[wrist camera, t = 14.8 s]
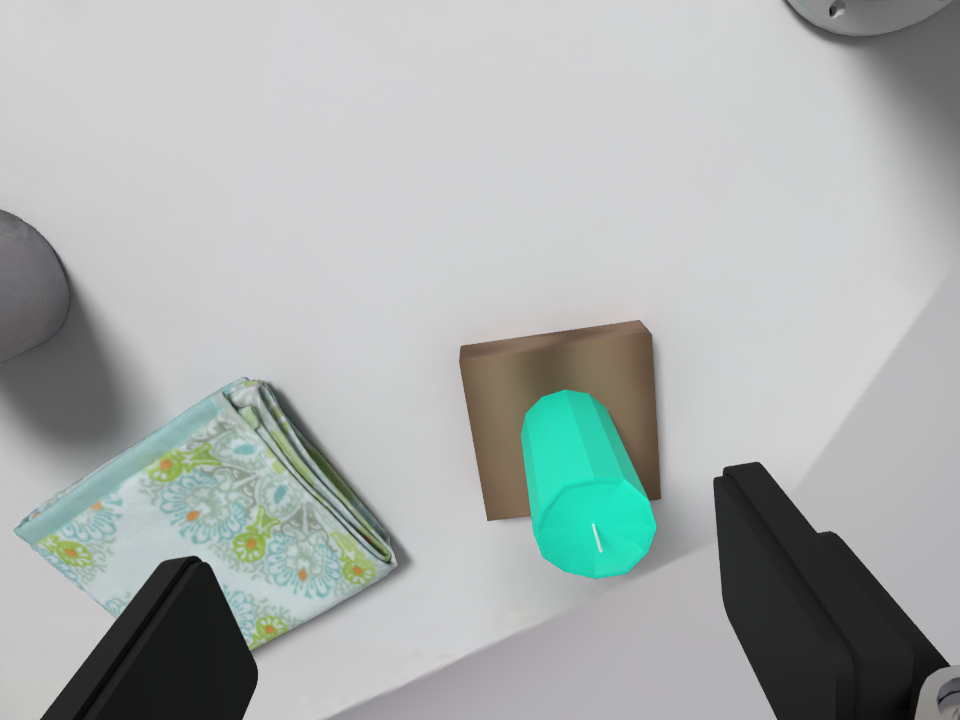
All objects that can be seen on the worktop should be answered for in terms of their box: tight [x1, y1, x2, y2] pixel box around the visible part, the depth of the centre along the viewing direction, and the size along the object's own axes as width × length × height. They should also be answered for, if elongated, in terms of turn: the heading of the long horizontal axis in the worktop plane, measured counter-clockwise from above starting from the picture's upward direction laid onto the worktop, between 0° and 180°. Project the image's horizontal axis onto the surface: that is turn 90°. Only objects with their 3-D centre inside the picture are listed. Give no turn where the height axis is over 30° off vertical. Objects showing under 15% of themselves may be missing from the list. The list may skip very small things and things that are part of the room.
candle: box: [521, 390, 657, 579], centre depth 33 cm, size 6×6×12 cm
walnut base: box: [459, 320, 661, 521], centre depth 40 cm, size 12×12×3 cm
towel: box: [14, 377, 398, 651], centre depth 43 cm, size 18×21×5 cm
